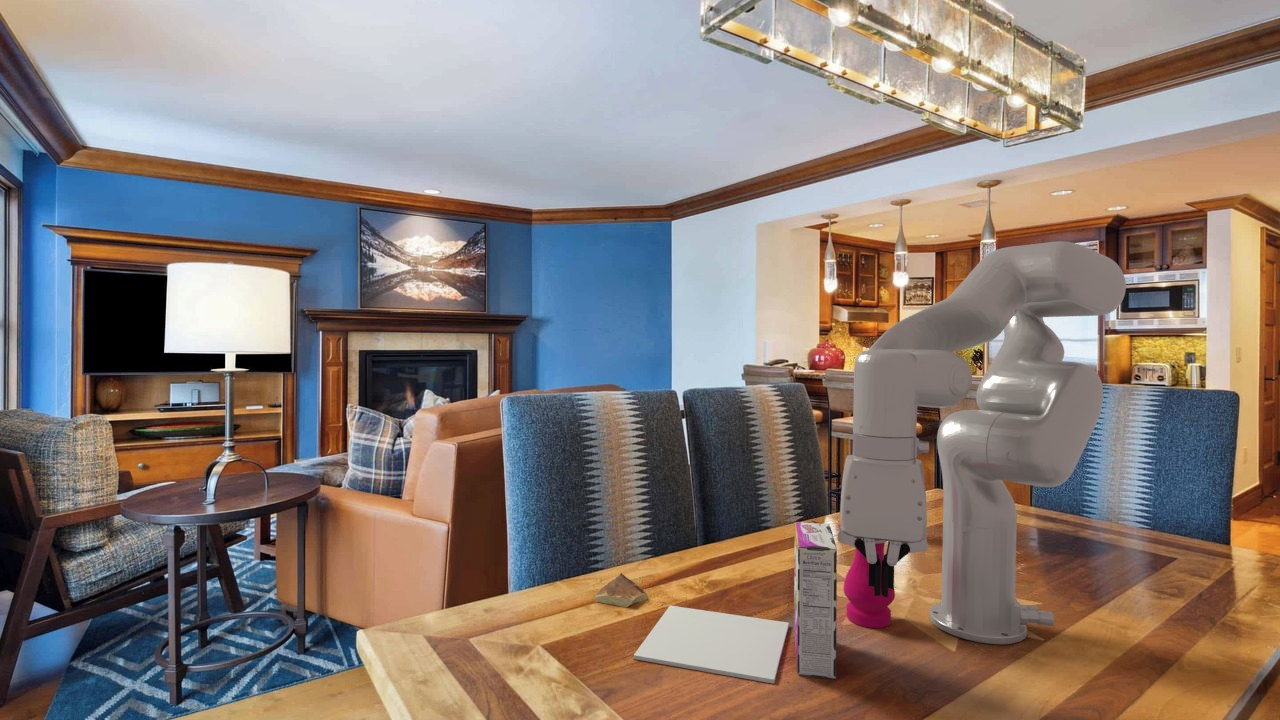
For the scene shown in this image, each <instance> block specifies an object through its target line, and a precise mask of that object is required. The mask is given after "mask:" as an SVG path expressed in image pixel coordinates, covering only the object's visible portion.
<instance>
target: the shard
mask: <svg viewBox="0 0 1280 720" xmlns="http://www.w3.org/2000/svg"><path fill="white" fill-rule="evenodd" d="M647 599H648V594H647V593H646V591H645V590H643V589H642V588H640V586H639V585H637V584H636V583H635V582H634V581H632V580H631V579H630V578H628V577H626V576H625V574H623V573H622V572H621V573H619V575H617V576H616V577H615V578H614V579H613V580H611V581H609V582H608V583H607V584H605V585H604V586H603V587H602V588H601V589H600V590H598V591H597V593H596V594H595V597H594V601H595V603H600V604H607V605H614V606H619V607H623V608H628V607H629V606H630V605H633V604H637V603H639V602H643V601H647Z"/></svg>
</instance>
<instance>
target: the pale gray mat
mask: <svg viewBox="0 0 1280 720" xmlns="http://www.w3.org/2000/svg"><path fill="white" fill-rule="evenodd" d="M789 626H790V623H789V622H787V621H779V620H772V619H765V618H760V617H759V618H758V617H752V616H745V615H738V614H732V613H731V614H730V613H724V612H718V611H710V610H705V609H704V610H703V609H696V608H689V607H683V606H677V605H669V606H668V607H667V609H666V610H665V611H664V613H663V614H662V616H661V617H660V618H659V619H658V621H657V622H656V624H655V625H654V627H653V628H652V629H651V631H650V632H649V633H648V635H647V636H646V638H645V639H644V640H643V641H642V643H641V645H640V646H639V647H638V649H637V650H636V651H635V652H634V654H633V660H638V661H643V662H649V663H654V664H660V665H665V666H671V667H677V668H682V669H683V668H684V669H687V670H688V669H689V670H693V671H695V670H696V671H700V672H706V673H710V674H716V675H717V674H718V675H723V676H728V677H733V678H735V677H736V678H738V679H739V678H740V679H746V680H752V681H757V682H763V683H768V684H769V683H770V684H775V682H776V678H777V674H778V669H779V667H780V662H781V659H782V655H783V654H782V653H783V650H784V646H785V643H786V642H785V641H786V638H787V634H788V630H789Z"/></svg>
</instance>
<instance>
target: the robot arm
mask: <svg viewBox="0 0 1280 720" xmlns="http://www.w3.org/2000/svg"><path fill="white" fill-rule="evenodd" d="M1122 270H1123V269H1122V268H1121V267H1120V266H1119V265H1118V263H1117V262H1116V261H1114V259H1111V258H1110V257H1108V256H1107V255H1104V254H1101V253H1100V252H1098V251H1096V250H1094V249H1091V248H1089V247H1087V246H1084V245H1081V244H1079V243H1078V244H1077V243H1075V242H1071V241H1061V240H1059V241H1058V240H1057V241H1049V242H1048V241H1047V242H1041V243H1030V244H1023V245H1013V246H1007V247H1002V248H998V249H995V250H994V251H991V252H989V253H987V254H986V255H985V256H984V257H983V258H982V259H981V260H980V261H979V262H978V264H977V265H975V267H974V268H973V269H972V270H971V271H970V272H969V273H968V275H967V276H966V277H965V278H964V279H963V281H961V283H960V284H959V285H958V286H957V287H956V288H955V289H954V290H953V291H952V293H951V294H950V295H949V296H948V297H946V298H945V299H942V300H941V301H938V302H935V303H934V304H931V305H929V306H928V307H925V308H924V309H921V310H919V311H918V312H915V313H913V314H912V315H910V316H907V317H905V318H904V319H901V320H899V322H897V323H895V324H893V325H892V326H891V327H889V328H888V329H887V330H886V331H885V332H883V333H882V334H881V336H879V338H878V339H876V341H874V343H873V344H872V345H871V346H870V348H869V349H868V350H865V351H862V352H860V353H858V354H857V355H856V357H855V360H854V367H853V371H854V372H853V405H852V406H853V407H852V409H853V413H852V415H853V416H852V422H853V423H852V454H850V455H849V454H848V455H846V458H845V462H844V466H843V472H842V479H841V492H840V504H839V505H840V506H839V507H840V509H839V512H840V513H839V514H840V517H839V519H840V520H839V522H840V527H839V530H838V534H837V541H838V542H839V543H841V544H843V545H847V546H848V547H849V546H850V547H854V548H855V549H856V548H857V549H858V550H859V552H860V553H861V554H862V555H863V556H864V557H865V558H866V559H867V561H868V562H869V576H868V586H872V587H874V596H879V595H880V594H881V593H882V596H883V597H888V588H889V589H894V590H895V566H897V564H898V562H900V561H901V560H902V559H903V558H905V556H907V555H909V554H911V553H912V554H914V553H922V552H924V553H925V552H927V551H928V549H929V545H928V541H927V530H928V528H927V527H928V526H927V525H928V521H927V520H928V518H927V516H928V514H927V512H928V511H927V510H928V509H927V494H926V493H927V492H926V486H925V485H926V484H925V473H924V467H923V462H922V460H920V459H917V457H918V456H919V455H920V454H923V453H929V452H930V442H929V441H923V440H920V438H918V437H917V426H918V424H917V423H918V420H917V419H918V407H925V408H935V409H936V408H937V409H942V408H943V409H944V408H948V407H953V406H955V405H957V404H959V403H961V402H962V401H963V400H964V399H965V398H967V396H968V395H969V392H970V390H971V387H972V385H973V373H972V369H971V368H970V366H969V363H968V362H967V361H966V360H965V358H963V357H962V356H961V355H959V354H958V353H955V352H961V351H963V350H968V349H972V348H974V347H978V346H980V345H985V344H986V343H989V342H992V341H993V340H994V339H996V338H997V337H999V335H1000V334H1002V332H1004V333H1003V334H1004V337H1003V338H1004V339H1003V341H1002V344H1001V346H1000V348H999V349H998V352H997V353H996V355H995V357H994V358H993V359H992V361H991V363H990V364H989V365H988V366H989V367H988V368H987V370H986V371H985V373H984V374H983V375H982V378H981V381H979V385H978V386H977V390H976V394H975V395H976V396H975V397H976V398H975V400H976V401H975V402H976V405H977V407H978V408H979V409H966V410H965V409H963V410H959V411H955V412H952V413H951V414H949V415H947V416H946V417H944V419H942V421H941V422H940V424H939V427H938V430H937V435H936V441H937V442H936V446H937V453H938V456H939V457H938V458H939V462H940V469H941V476H942V477H941V478H942V488H943V489H942V490H943V500H942V501H943V506H942V507H943V510H942V518H943V519H942V555H941V557H942V559H941V560H942V561H941V563H942V564H941V598H940V599H941V602H938V603H935V604H934V605H932V606H931V607H930V608H929V620H930V621H931V623H933V624H934V625H935V626H936V627H937V628H938V629H940V630H941V631H944V632H946V633H947V634H950V635H952V636H955V637H957V638H961V639H964V640H966V641H967V640H968V641H971V642H975V643H981V644H991V645H1010V644H1016V643H1019V642H1022V641H1023V640H1025V639H1026V637H1027V633H1028V631H1027V629H1028V627H1027V625H1029V623H1030V624H1037V625H1040V626H1046V627H1047V626H1048V627H1054V623H1055V619H1054V618H1055V617H1054V613H1053V611H1048V610H1047V611H1046V610H1039V606H1038V605H1030V604H1022V603H1021V602H1019V601H1018V600H1017V598H1016V569H1017V567H1016V563H1017V526H1018V525H1017V524H1018V514H1017V507H1016V504H1015V501H1014V498H1013V497H1012V495H1011V493H1010V491H1009V489H1008V488H1007V486H1006V483H1004V481H1005V482H1010V483H1017V484H1022V485H1028V486H1032V487H1033V486H1034V487H1041V488H1055V487H1059V486H1060V485H1061V486H1062V484H1063V485H1064V484H1065V482H1067V480H1069V478H1070V477H1071V475H1072V474H1073V473H1074V471H1075V468H1076V467H1077V465H1078V463H1079V461H1080V458H1081V456H1082V455H1083V452H1084V450H1085V449H1086V446H1087V444H1088V442H1089V440H1090V437H1091V436H1092V434H1093V431H1094V430H1095V427H1096V426H1097V423H1098V421H1099V418H1100V416H1101V412H1102V409H1103V404H1104V403H1103V402H1104V387H1103V383H1102V380H1101V377H1100V376H1099V374H1098V372H1097V371H1096V370H1095V369H1094V368H1092V367H1090V366H1089V365H1087V364H1084V363H1081V362H1074V361H1063V359H1064V357H1065V348H1064V345H1063V343H1062V342H1061V340H1060V338H1059V337H1058V335H1057V334H1056V333H1055V332H1054V330H1053V329H1051V328H1050V327H1049V325H1047V324H1046V322H1045V321H1044V319H1043V318H1060V317H1062V318H1064V317H1094V316H1095V317H1097V316H1104V315H1108V314H1111V313H1112V312H1114V311H1116V310H1117V308H1119V306H1121V304H1122V302H1123V300H1124V298H1125V295H1126V289H1127V283H1126V279H1125V274H1124V273H1123V271H1122ZM863 538H864V539H863ZM875 540H883V541H887V548H886V550H885V551H886V552H885V553H884V558H883V560H882V566H881V561H880V559H879V555H878V554H877V553H876V547H875ZM1020 603H1021V604H1020Z"/></svg>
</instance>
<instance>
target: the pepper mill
mask: <svg viewBox="0 0 1280 720" xmlns="http://www.w3.org/2000/svg"><path fill="white" fill-rule="evenodd" d="M863 539H864V538H863ZM886 542H887V543H888V541H883V540H875V547H876V553H877V554H878V555H879V559H880V561H881V566H882V560H883V558H884V555H885V543H886ZM868 576H869V562H868V561H867V559H866V558H865V557H864V556H863V555H862V554H861V553H860V552H859V550H858V549H857V548H856V547H855V553H854V558H853V561H852V563H851V565H850V568H849V570H848V571H847V573H846V574H845V578H844V581H843V594H844V595H845V597H846V598H847V600H848V601H849V602H848V603H847V604H846V617H847V619H848V620H849V621H850V622H851V623H852V624H855V625H858V626H861V627H864V628H871V629H873V628H874V629H881V628H886V627H888V626H889V625H891V623H892V622H891V620H892V618H891V617H892V610H891V609H890V608H889V606H890V605H891V604H892V603H893V601H894V600H895V595H896V594H895V593H896V592H895V588H894V589H889V588H888V597H883V596H882V593H881V594H880V595H879V596H874V587H872V586H868Z"/></svg>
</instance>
